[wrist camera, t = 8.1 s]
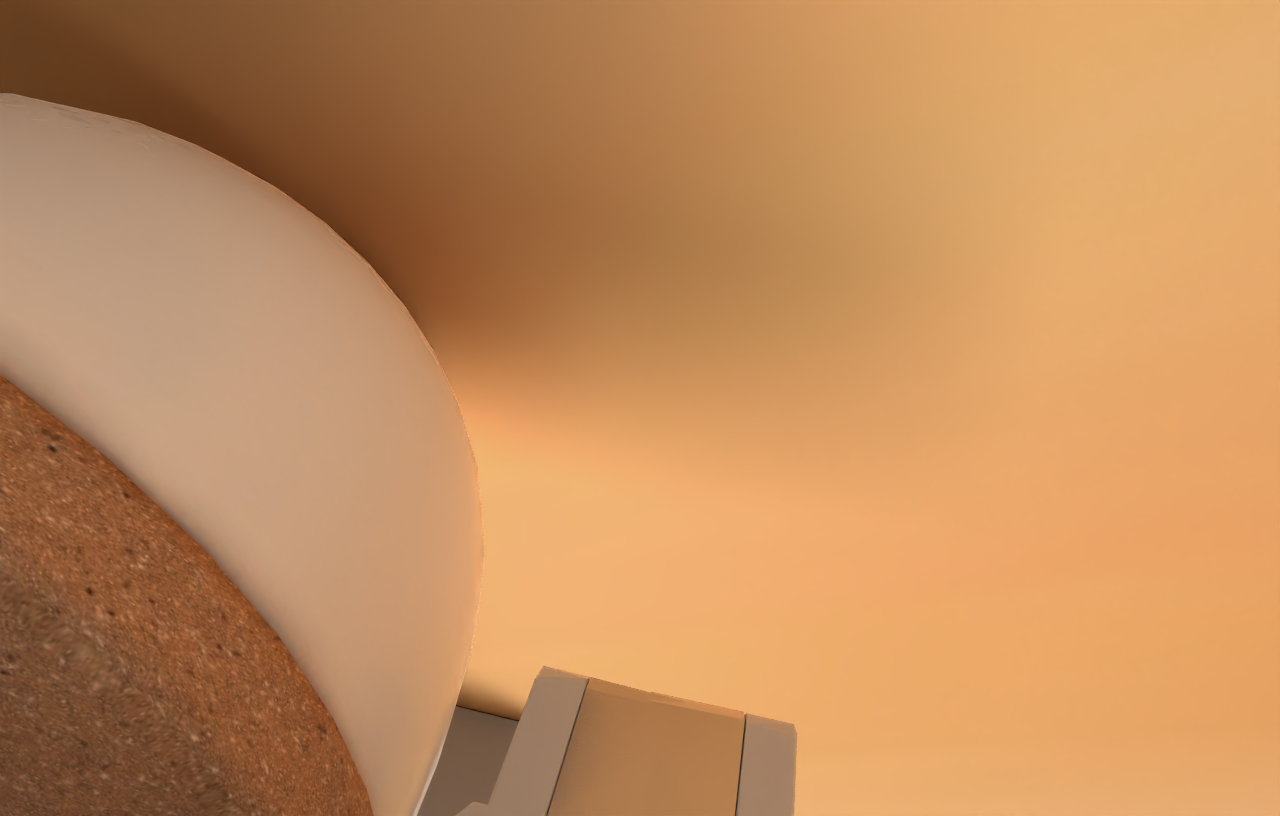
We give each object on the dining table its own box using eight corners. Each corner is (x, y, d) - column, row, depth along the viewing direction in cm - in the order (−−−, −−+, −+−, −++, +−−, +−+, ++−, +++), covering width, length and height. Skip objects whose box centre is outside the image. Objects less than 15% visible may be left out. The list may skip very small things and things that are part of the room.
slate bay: (705, -200, 9) (665, -229, 7) (577, 769, 17) (542, 890, 15) (-427, -353, 10) (-758, -417, 8) (-30, 617, 19) (-140, 710, 17)
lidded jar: (-205, 99, 13) (-1896, 440, 5) (443, -95, 10) (-1229, -29, 2) (151, 633, 18) (-401, 1232, 10) (653, 614, 15) (440, 1453, 7)
